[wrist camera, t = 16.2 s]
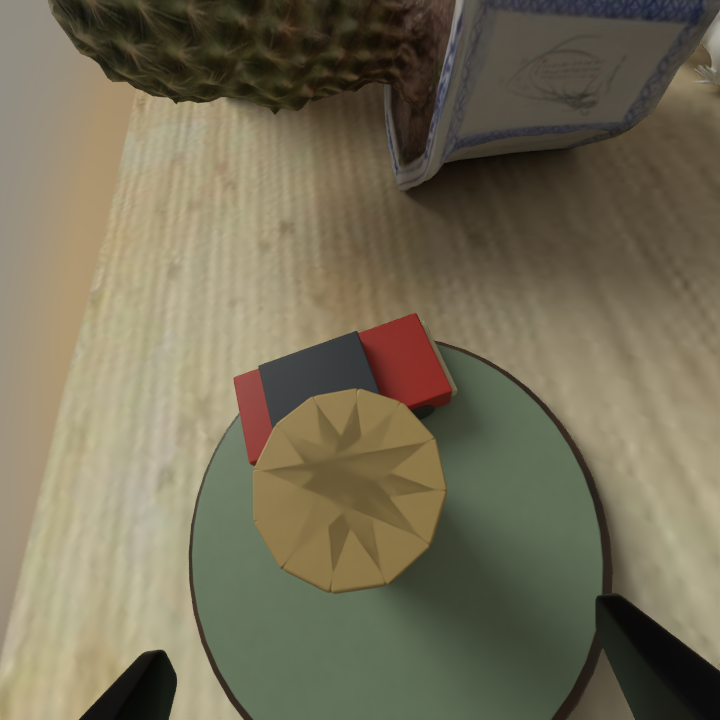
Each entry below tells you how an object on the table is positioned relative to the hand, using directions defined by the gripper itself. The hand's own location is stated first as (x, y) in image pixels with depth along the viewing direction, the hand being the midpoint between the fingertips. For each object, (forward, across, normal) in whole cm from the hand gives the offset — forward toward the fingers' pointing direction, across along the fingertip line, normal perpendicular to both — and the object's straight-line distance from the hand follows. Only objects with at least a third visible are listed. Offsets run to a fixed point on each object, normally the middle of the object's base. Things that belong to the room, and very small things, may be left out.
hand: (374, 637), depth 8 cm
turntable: (+8, 0, +4) cm, 9 cm away
